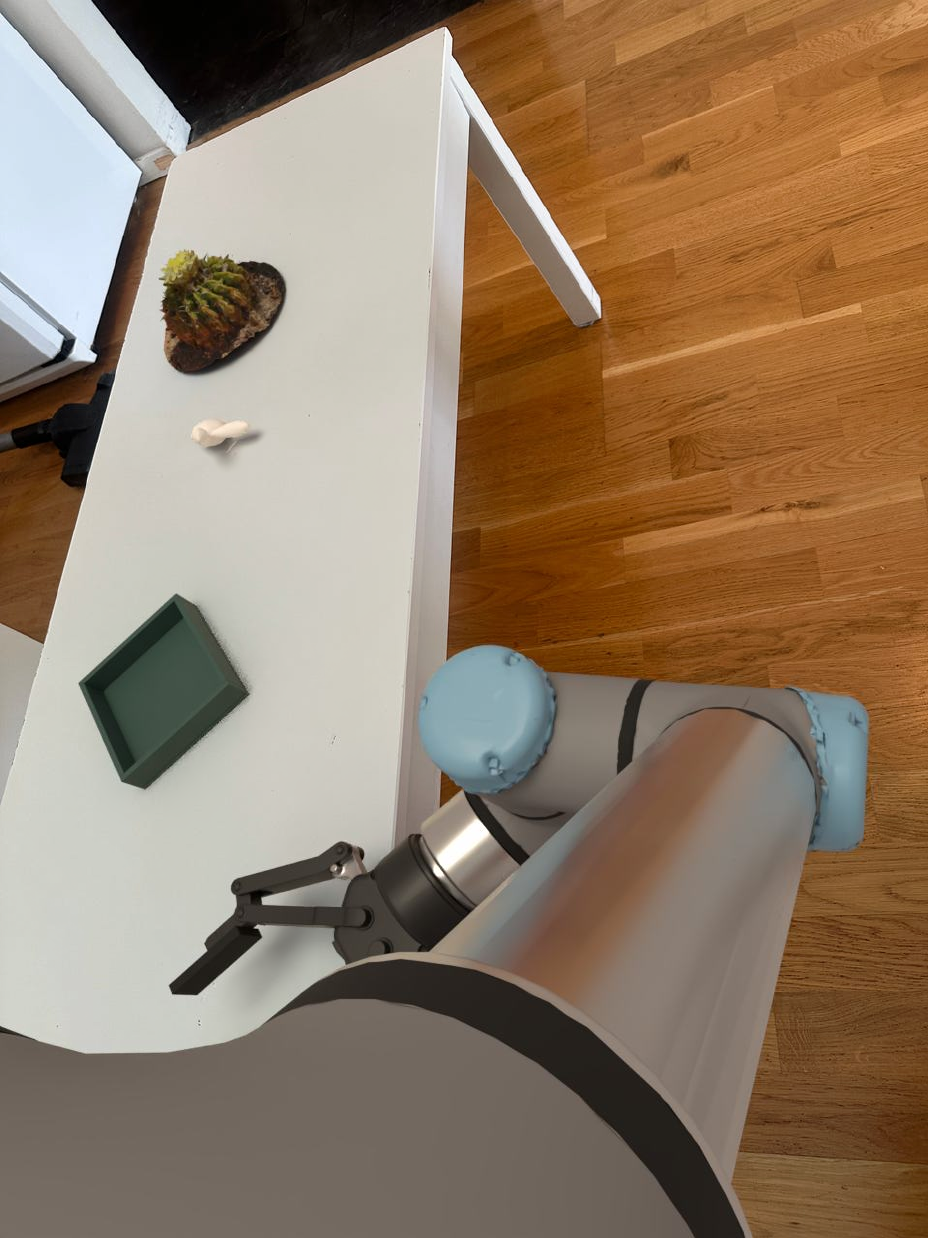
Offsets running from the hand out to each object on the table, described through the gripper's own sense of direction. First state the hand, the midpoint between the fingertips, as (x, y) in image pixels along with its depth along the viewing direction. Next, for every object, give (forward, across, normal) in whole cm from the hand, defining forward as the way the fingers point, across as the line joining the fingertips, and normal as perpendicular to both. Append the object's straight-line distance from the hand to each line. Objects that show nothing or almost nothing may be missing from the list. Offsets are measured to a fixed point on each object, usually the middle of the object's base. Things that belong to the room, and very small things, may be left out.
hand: (218, 1079), depth 57 cm
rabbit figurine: (-25, +56, -7) cm, 62 cm away
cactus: (-34, +74, -7) cm, 82 cm away
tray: (-6, +35, -6) cm, 36 cm away
